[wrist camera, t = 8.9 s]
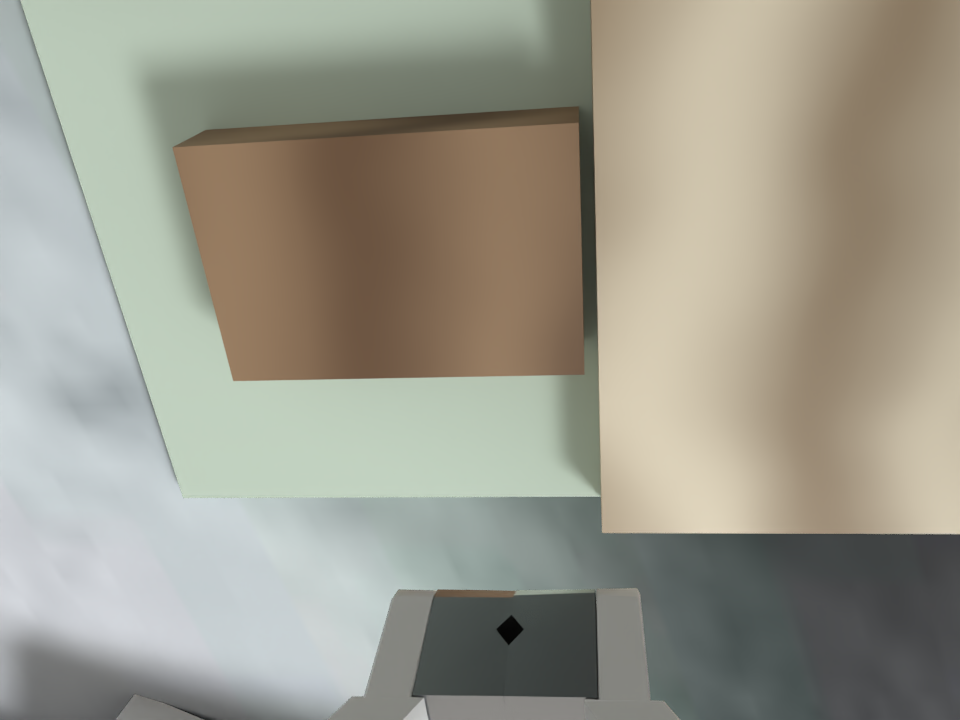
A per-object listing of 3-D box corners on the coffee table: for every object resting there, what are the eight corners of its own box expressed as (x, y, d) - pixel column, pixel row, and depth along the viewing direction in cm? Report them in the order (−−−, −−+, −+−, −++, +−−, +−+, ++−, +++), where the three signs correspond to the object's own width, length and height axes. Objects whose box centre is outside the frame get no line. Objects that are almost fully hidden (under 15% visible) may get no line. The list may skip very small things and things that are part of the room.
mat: (586, -148, 16) (587, -150, 16) (600, 488, 24) (600, 496, 23) (4, -82, 18) (-7, -82, 18) (188, 490, 25) (183, 497, 25)
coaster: (578, 106, 18) (579, 122, 16) (584, 341, 21) (584, 374, 19) (205, 129, 19) (172, 147, 18) (257, 349, 22) (232, 381, 20)
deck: (1251, -223, 14) (1343, -245, 13) (1040, 486, 22) (1080, 534, 20) (586, -148, 16) (587, -158, 14) (600, 488, 24) (602, 532, 22)
